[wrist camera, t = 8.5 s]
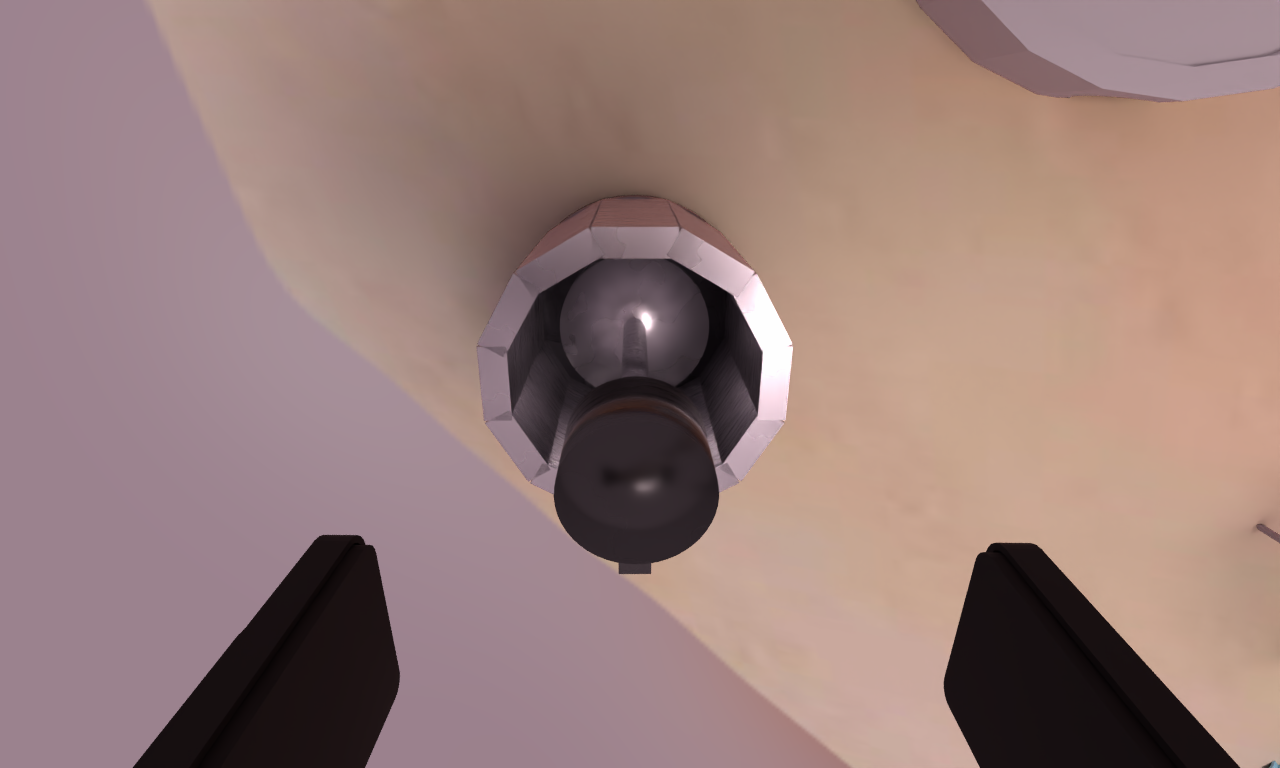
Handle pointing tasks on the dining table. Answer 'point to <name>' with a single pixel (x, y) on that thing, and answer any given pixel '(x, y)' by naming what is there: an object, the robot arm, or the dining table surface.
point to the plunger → (635, 413)
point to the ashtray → (1120, 45)
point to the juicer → (1269, 532)
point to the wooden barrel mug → (551, 387)
